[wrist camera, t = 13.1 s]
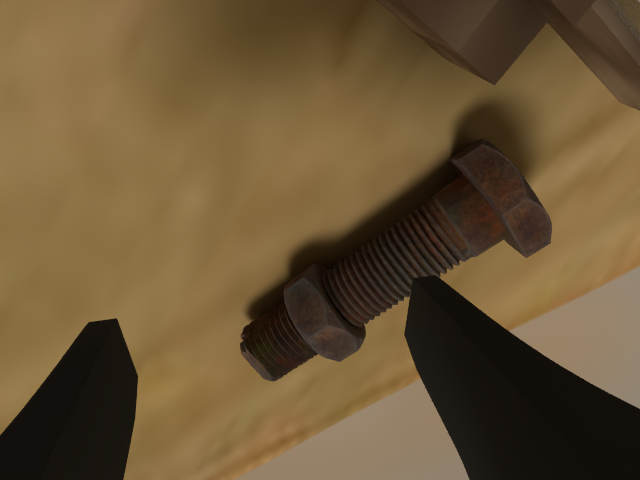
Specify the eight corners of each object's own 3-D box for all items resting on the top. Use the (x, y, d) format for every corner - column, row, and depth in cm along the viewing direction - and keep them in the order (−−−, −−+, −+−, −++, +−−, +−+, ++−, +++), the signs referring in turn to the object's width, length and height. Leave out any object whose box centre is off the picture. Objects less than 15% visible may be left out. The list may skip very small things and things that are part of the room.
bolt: (243, 299, 26) (470, 138, 22) (296, 367, 26) (526, 220, 23) (204, 342, 20) (500, 136, 17) (271, 428, 21) (574, 245, 17)
